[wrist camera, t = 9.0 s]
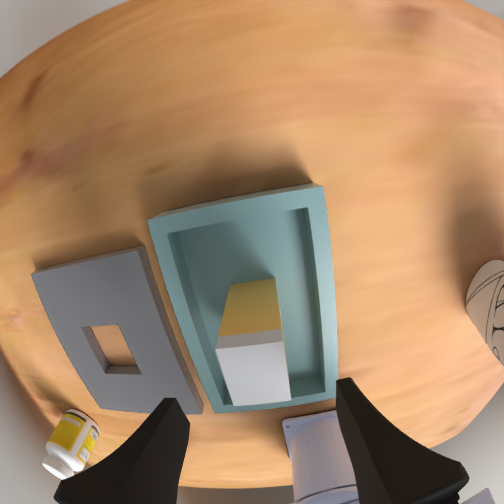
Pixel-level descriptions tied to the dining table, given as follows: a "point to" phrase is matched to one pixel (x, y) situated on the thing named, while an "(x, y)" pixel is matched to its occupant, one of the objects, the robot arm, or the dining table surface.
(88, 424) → the supplement bottle
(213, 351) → the parts tray
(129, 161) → the dining table surface
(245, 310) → the block
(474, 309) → the mug
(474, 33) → the dining table surface
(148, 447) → the robot arm
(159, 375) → the socket block
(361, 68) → the dining table surface
